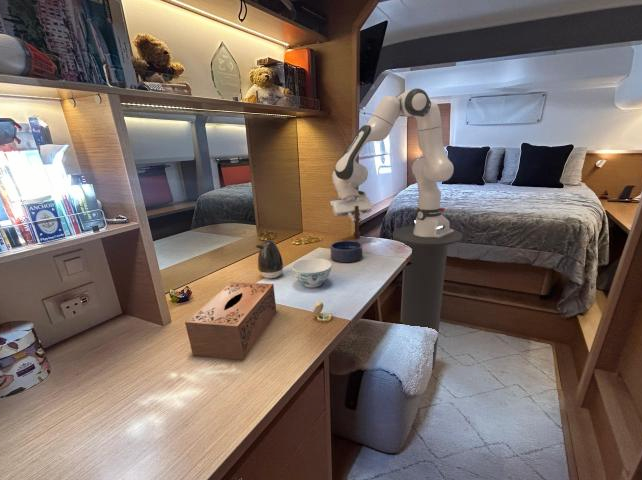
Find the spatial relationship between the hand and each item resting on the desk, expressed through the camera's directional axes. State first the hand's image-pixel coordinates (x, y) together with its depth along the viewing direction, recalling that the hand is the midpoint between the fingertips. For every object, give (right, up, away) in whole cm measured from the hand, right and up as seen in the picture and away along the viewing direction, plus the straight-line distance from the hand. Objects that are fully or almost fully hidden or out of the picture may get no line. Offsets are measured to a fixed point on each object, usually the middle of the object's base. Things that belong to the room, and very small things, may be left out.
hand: (357, 220), depth 164 cm
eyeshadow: (-16, -41, -58) cm, 73 cm away
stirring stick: (0, -8, +4) cm, 9 cm away
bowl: (-6, -18, -8) cm, 21 cm away
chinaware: (-20, -30, -34) cm, 50 cm away
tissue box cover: (-41, -44, -63) cm, 87 cm away
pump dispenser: (-37, -27, -25) cm, 52 cm away
